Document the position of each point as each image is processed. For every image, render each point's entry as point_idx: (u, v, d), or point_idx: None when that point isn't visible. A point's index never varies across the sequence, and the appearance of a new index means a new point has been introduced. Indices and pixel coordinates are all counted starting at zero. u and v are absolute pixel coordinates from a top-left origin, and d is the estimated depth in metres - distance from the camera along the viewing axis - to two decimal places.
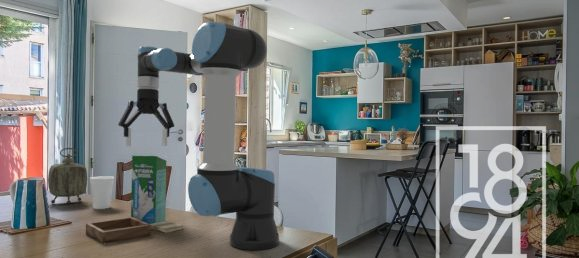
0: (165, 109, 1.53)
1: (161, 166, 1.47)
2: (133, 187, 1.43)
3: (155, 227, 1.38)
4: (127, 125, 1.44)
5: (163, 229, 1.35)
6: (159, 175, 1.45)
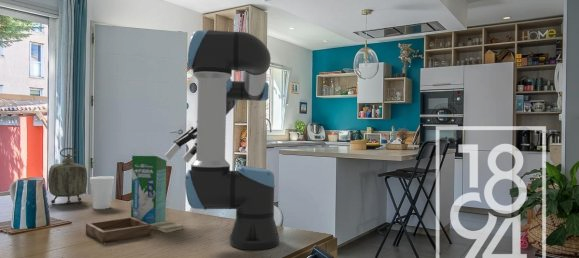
0: None
1: (161, 166, 1.47)
2: (133, 187, 1.43)
3: (155, 227, 1.38)
4: (176, 141, 1.63)
5: (163, 229, 1.35)
6: (159, 175, 1.45)
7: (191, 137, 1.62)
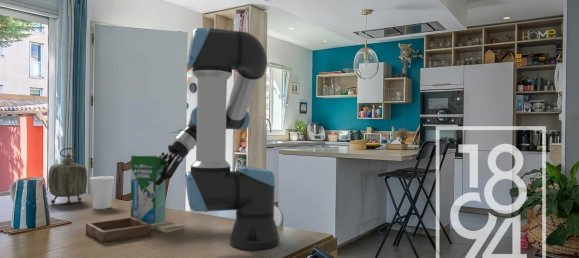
0: (174, 159, 1.47)
1: (160, 166, 1.46)
2: (132, 187, 1.43)
3: (155, 227, 1.38)
4: None
5: (163, 229, 1.35)
6: None
7: None
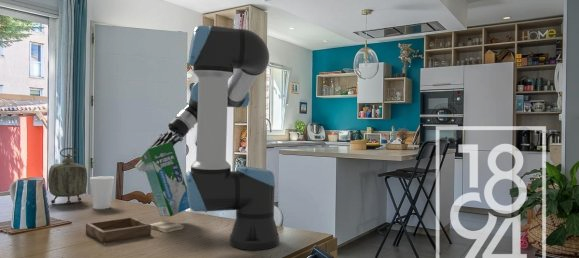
0: (171, 138, 1.48)
1: None
2: (160, 179, 1.40)
3: (155, 227, 1.38)
4: None
5: (163, 229, 1.35)
6: None
7: None
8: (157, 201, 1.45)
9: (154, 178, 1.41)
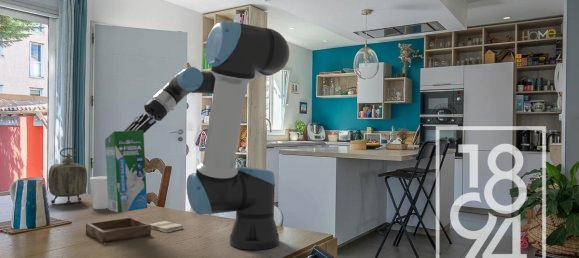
0: (145, 121, 1.32)
1: None
2: (118, 168, 1.22)
3: (155, 227, 1.38)
4: None
5: (163, 229, 1.35)
6: None
7: None
8: (109, 192, 1.27)
9: (112, 166, 1.24)
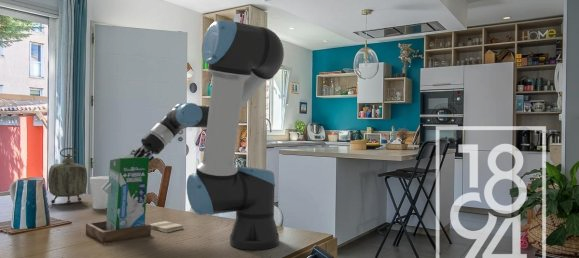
0: None
1: None
2: (120, 194, 1.23)
3: (155, 227, 1.38)
4: None
5: (163, 229, 1.35)
6: None
7: None
8: (108, 213, 1.29)
9: (115, 190, 1.25)
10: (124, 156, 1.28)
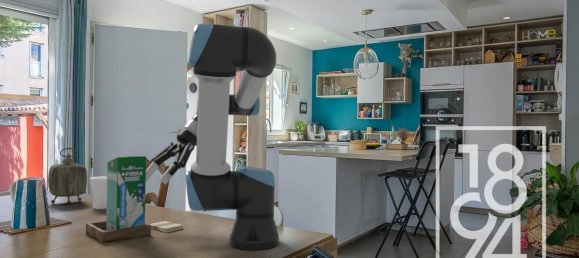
0: (185, 148, 1.40)
1: None
2: (119, 193, 1.24)
3: (155, 227, 1.38)
4: (154, 159, 1.47)
5: (163, 229, 1.35)
6: None
7: (171, 154, 1.46)
8: (108, 215, 1.29)
9: (113, 190, 1.26)
10: (121, 157, 1.30)
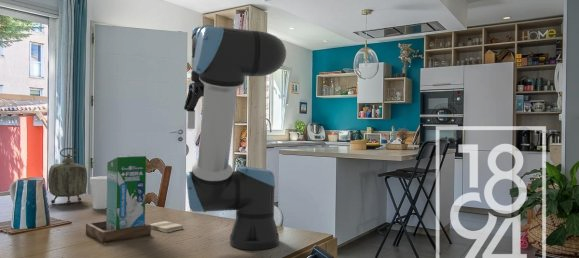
0: None
1: None
2: (119, 193, 1.24)
3: (155, 227, 1.38)
4: (187, 108, 1.51)
5: (163, 229, 1.35)
6: None
7: (197, 97, 1.49)
8: (108, 215, 1.29)
9: (113, 190, 1.26)
10: (121, 157, 1.30)
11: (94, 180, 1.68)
